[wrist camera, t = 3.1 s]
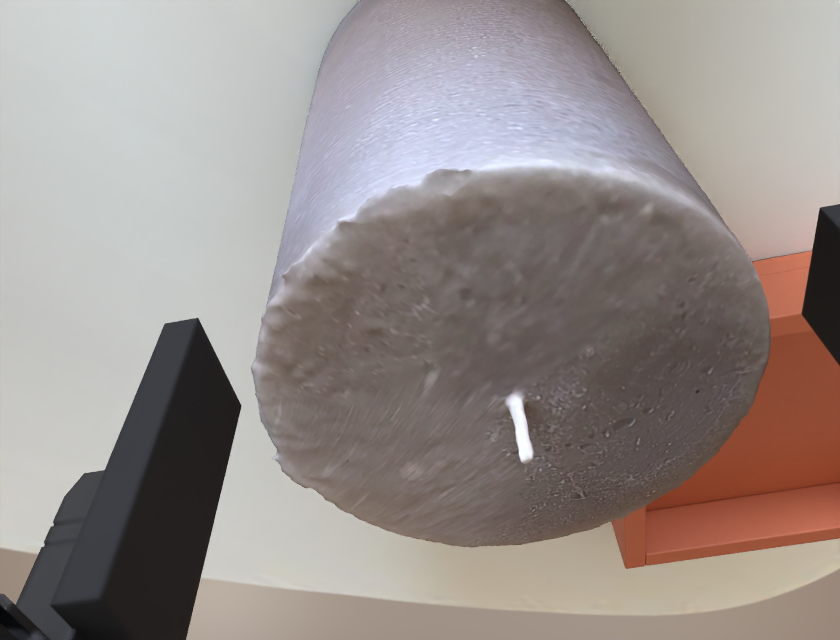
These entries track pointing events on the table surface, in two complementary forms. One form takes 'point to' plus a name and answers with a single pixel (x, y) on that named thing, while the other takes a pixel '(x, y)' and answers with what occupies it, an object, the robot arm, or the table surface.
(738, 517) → the holder
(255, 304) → the table surface
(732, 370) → the pillar candle
